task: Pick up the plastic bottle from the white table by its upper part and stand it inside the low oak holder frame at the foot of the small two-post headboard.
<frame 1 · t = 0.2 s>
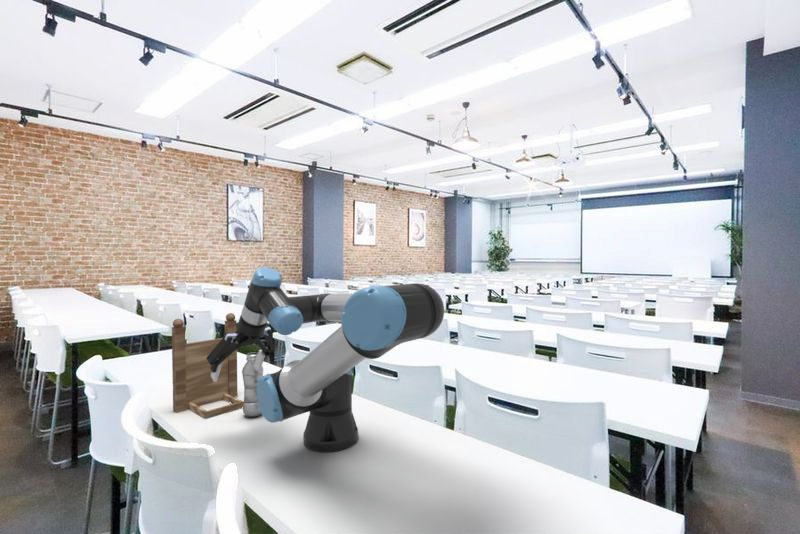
hand: (236, 373, 124), 16 cm above the table, tool tilted 30°, fingers open, 13 cm apart
headboard holder: (215, 407, 140), on the table
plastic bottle: (253, 415, 134), on the table
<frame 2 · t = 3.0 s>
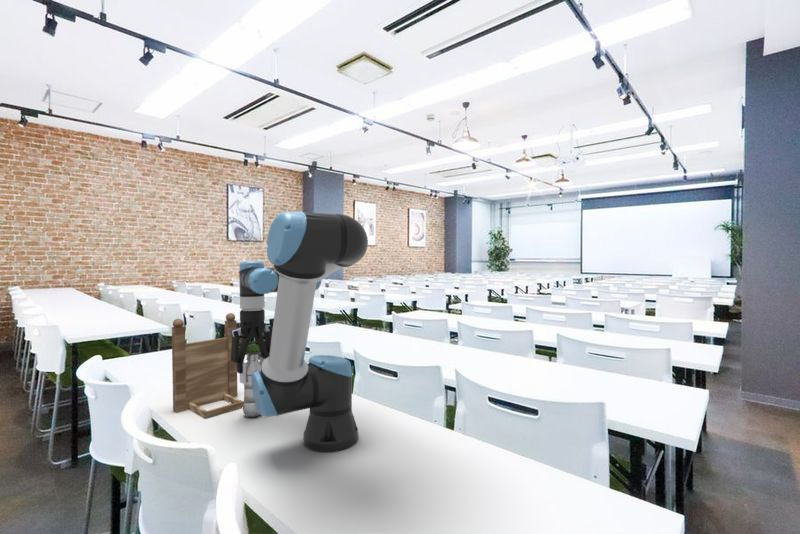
hand: (253, 380, 133), 11 cm above the table, tool pointing down, fingers closed on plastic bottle, 6 cm apart
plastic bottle: (253, 415, 133), on the table, touching gripper
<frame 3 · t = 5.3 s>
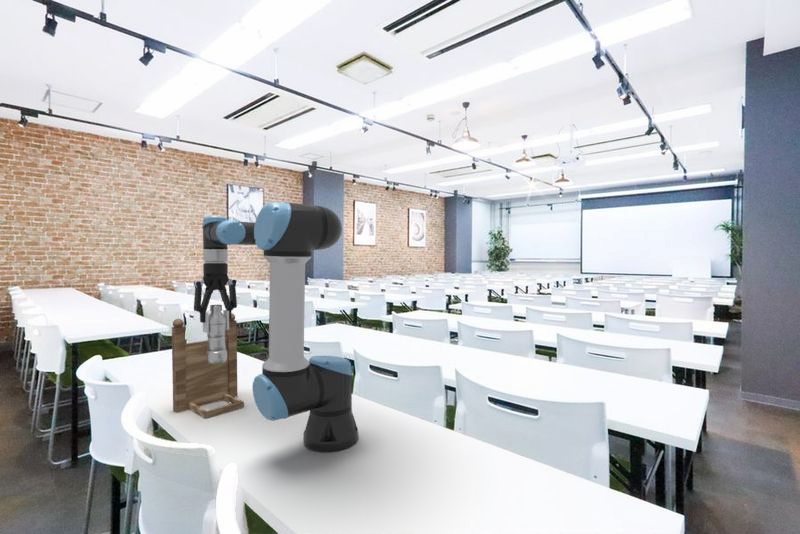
hand: (216, 330, 139), 26 cm above the table, tool pointing down, fingers closed on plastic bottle, 6 cm apart
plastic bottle: (216, 364, 140), point 15 cm above the table, touching gripper
when the fingers open (12 cm above the table, at t = 7.7 s): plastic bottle stays where it is, resting in headboard holder.
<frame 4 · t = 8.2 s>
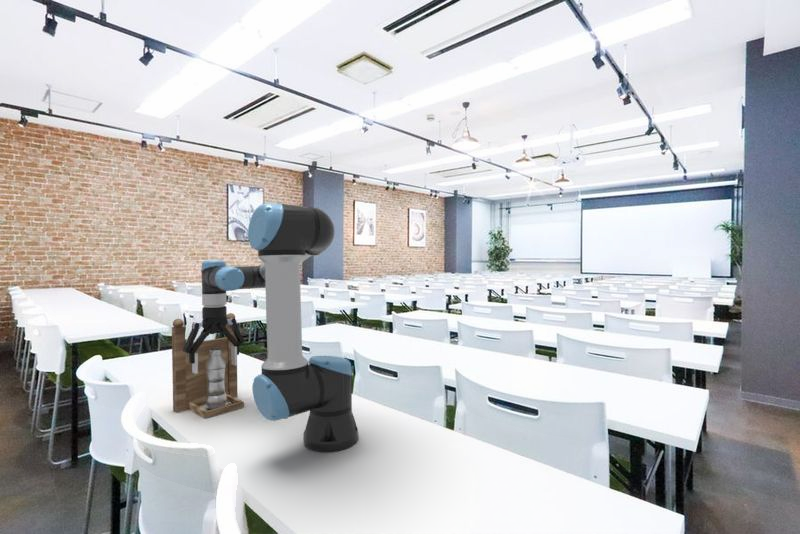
hand: (215, 368, 140), 13 cm above the table, tool pointing down, fingers open, 13 cm apart
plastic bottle: (216, 408, 140), resting in headboard holder
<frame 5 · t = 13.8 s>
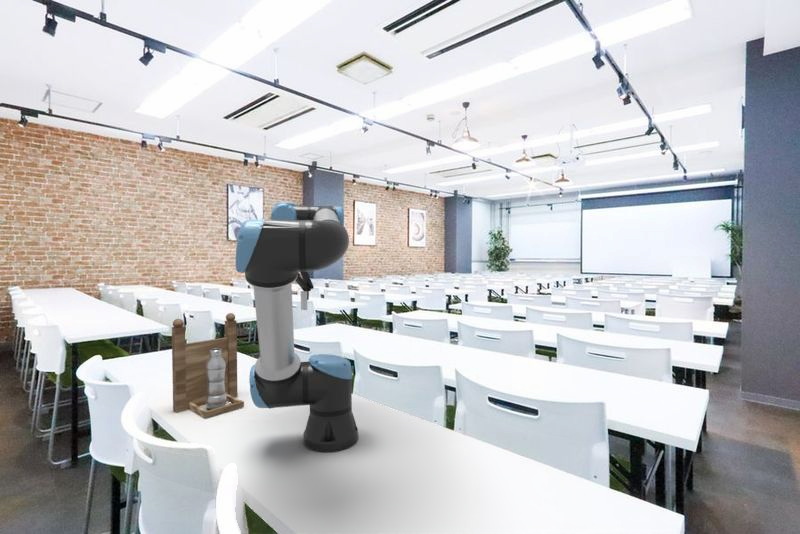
hand: (287, 312, 139), 33 cm above the table, tool pointing down, fingers open, 13 cm apart
nothing on the table moved.
at the end: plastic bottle inside the target area on the headboard holder (0.2 cm from its centre), point 0.0 cm above the headboard holder's base; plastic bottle tilted 0°; the gripper is holding nothing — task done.
